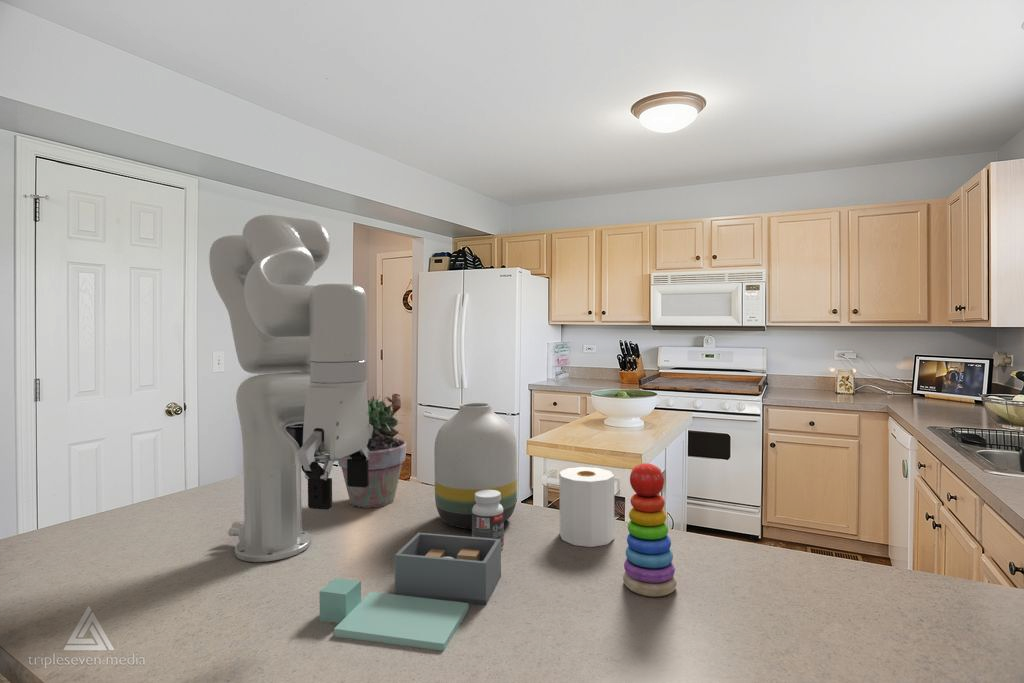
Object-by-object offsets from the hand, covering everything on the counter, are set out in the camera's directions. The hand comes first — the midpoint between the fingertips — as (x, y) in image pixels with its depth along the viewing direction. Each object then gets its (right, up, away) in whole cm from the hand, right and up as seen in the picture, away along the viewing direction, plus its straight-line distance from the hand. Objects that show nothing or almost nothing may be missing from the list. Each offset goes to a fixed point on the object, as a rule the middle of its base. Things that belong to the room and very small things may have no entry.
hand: (340, 496), depth 74 cm
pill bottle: (+20, -16, +22) cm, 34 cm away
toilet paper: (+38, -16, +27) cm, 49 cm away
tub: (+14, -16, +8) cm, 23 cm away
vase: (+16, -16, +36) cm, 43 cm away
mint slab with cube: (+7, -16, -2) cm, 18 cm away
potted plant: (-9, -16, +49) cm, 52 cm away
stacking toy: (+45, -16, +7) cm, 48 cm away
